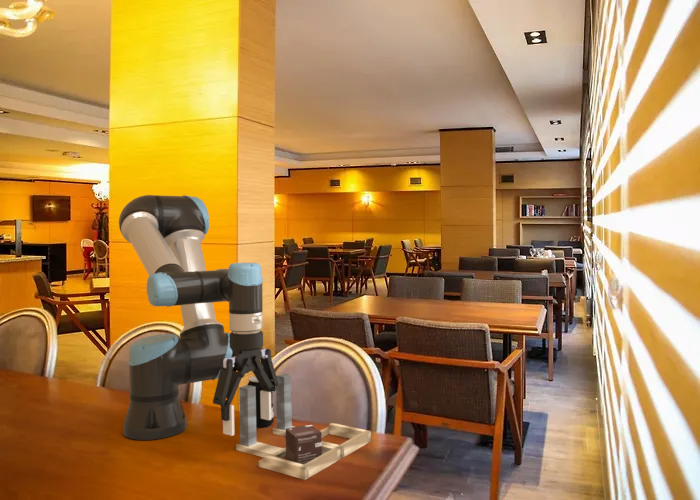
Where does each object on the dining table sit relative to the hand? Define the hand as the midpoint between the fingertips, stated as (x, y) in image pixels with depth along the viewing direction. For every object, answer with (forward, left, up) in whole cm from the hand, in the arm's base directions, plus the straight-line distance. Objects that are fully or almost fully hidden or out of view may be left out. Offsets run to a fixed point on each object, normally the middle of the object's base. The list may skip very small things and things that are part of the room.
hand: (248, 426), depth 131 cm
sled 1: (+10, 0, -5) cm, 11 cm away
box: (+16, 0, -5) cm, 17 cm away
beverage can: (-9, +14, -5) cm, 18 cm away
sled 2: (+10, +13, -5) cm, 17 cm away
